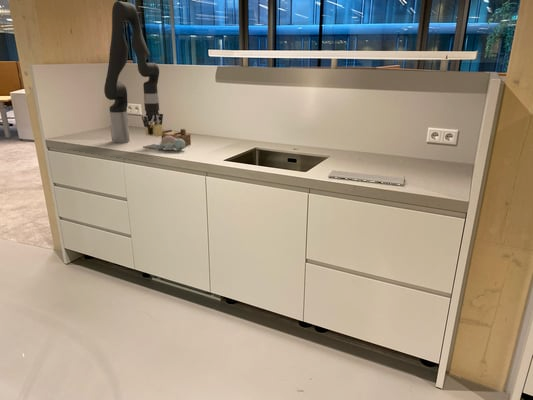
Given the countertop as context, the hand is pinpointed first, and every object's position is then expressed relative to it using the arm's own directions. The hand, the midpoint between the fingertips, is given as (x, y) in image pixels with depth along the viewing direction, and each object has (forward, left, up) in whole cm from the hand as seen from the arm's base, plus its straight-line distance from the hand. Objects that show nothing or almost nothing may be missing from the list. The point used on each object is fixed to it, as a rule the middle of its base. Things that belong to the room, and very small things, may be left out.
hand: (154, 133), depth 223 cm
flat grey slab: (+118, +5, -8) cm, 118 cm away
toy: (+13, -1, -8) cm, 15 cm away
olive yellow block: (0, 0, -1) cm, 1 cm away
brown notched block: (+4, +13, -7) cm, 15 cm away
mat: (0, 0, -7) cm, 7 cm away
